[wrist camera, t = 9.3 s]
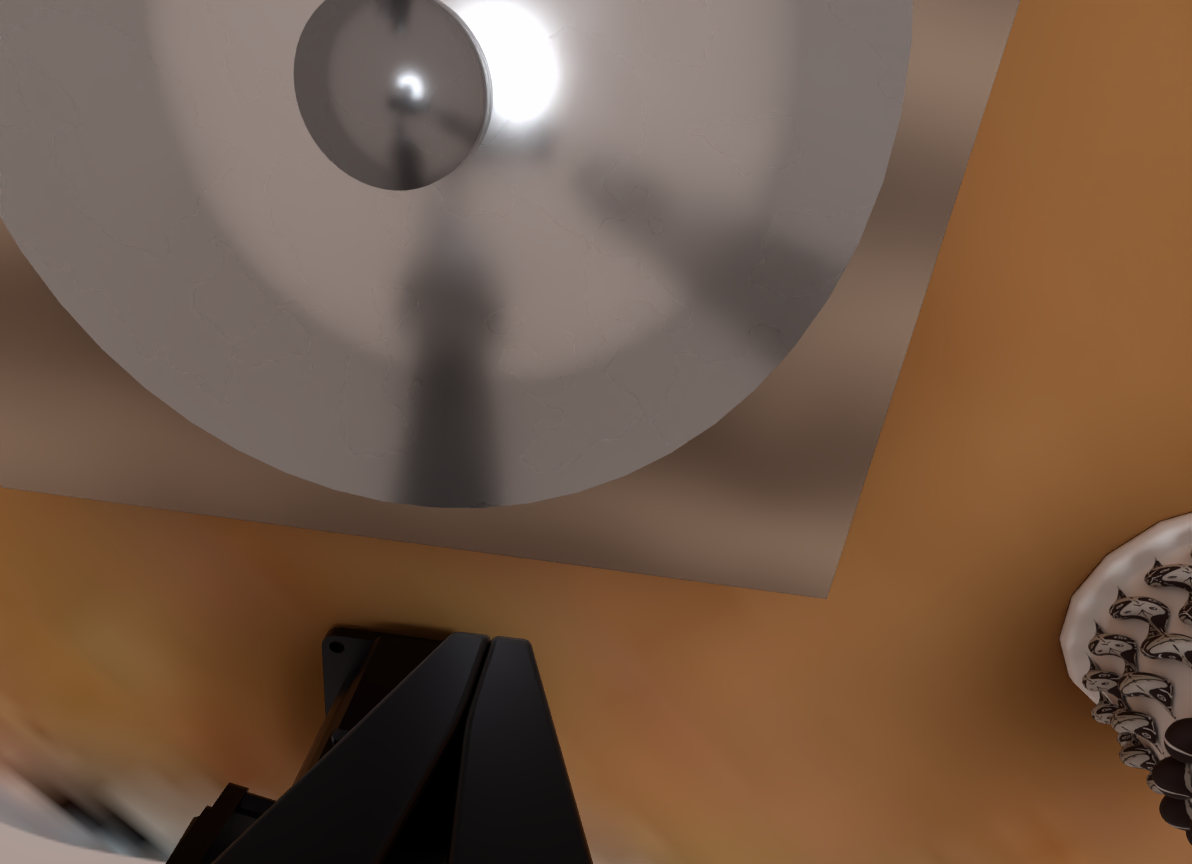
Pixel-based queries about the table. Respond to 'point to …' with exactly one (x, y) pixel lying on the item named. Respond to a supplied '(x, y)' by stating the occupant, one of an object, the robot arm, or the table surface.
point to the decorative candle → (1141, 657)
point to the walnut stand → (613, 509)
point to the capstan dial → (447, 217)
